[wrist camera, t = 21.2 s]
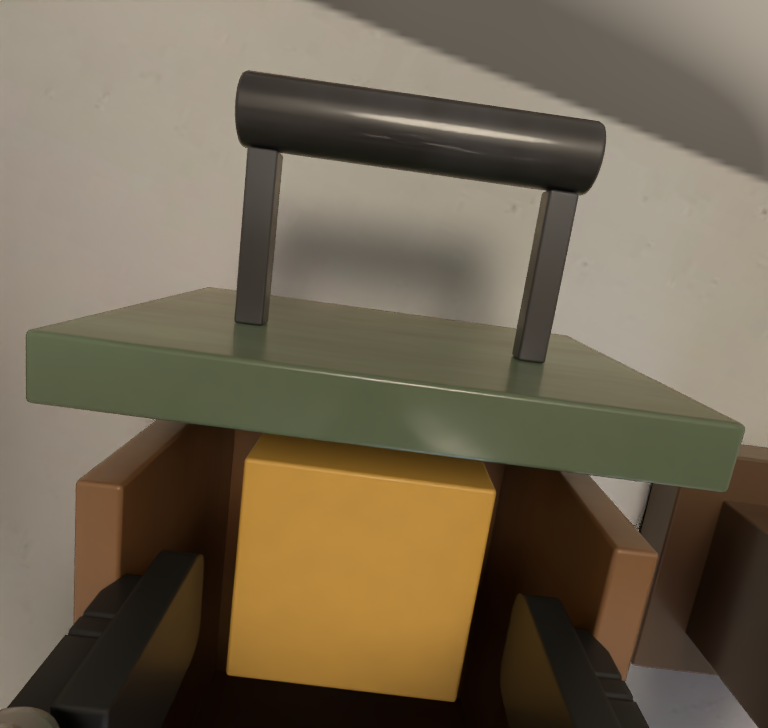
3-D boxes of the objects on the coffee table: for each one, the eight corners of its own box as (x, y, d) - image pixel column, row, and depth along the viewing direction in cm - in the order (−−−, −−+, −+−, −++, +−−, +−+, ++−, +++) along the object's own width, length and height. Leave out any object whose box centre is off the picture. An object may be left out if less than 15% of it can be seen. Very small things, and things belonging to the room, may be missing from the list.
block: (278, 532, 18) (224, 676, 12) (294, 382, 16) (244, 458, 11) (433, 552, 18) (456, 704, 12) (458, 404, 17) (497, 491, 11)
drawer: (217, 118, 16) (20, -30, 7) (602, 173, 16) (845, 93, 8) (182, 659, 20) (26, 975, 11) (493, 695, 20) (573, 1033, 12)
